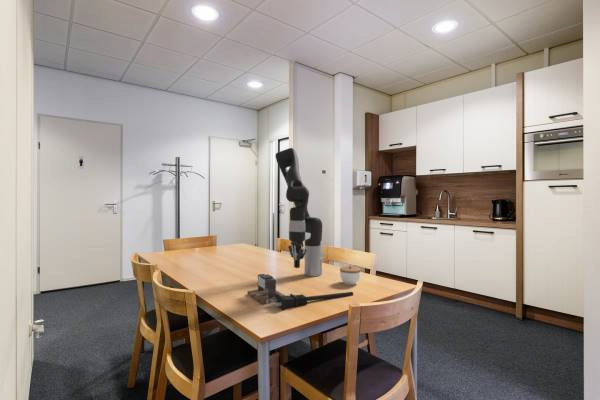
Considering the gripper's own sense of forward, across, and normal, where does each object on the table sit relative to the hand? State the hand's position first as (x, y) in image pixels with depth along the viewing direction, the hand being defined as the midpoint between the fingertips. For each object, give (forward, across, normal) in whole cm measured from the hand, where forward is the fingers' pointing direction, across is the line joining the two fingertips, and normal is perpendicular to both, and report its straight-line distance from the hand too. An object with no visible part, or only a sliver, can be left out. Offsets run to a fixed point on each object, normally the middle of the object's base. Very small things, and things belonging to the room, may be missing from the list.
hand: (296, 267), depth 146 cm
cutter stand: (+13, -6, -13) cm, 19 cm away
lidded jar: (+13, -3, +34) cm, 37 cm away
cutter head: (+11, -6, -13) cm, 18 cm away
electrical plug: (+14, +10, +2) cm, 17 cm away
